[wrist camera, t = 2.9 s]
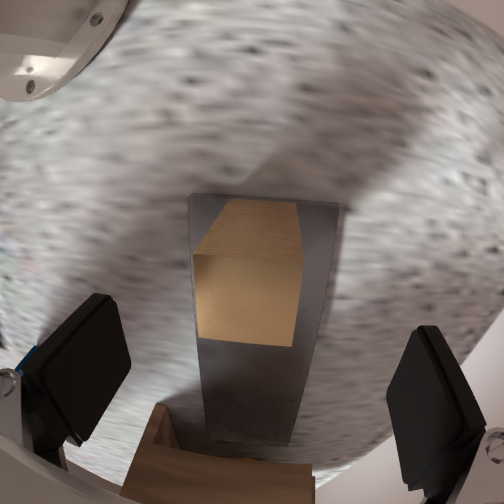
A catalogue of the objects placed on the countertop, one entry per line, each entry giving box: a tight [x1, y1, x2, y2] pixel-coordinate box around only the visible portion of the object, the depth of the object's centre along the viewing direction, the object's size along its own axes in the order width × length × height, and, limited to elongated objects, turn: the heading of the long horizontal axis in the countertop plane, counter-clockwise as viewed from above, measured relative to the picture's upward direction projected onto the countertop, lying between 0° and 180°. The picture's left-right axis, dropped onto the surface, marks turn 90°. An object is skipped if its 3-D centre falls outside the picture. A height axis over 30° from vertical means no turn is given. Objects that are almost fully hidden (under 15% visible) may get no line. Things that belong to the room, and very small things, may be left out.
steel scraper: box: [188, 193, 339, 447], centre depth 16 cm, size 21×7×7 cm, turn 178°
